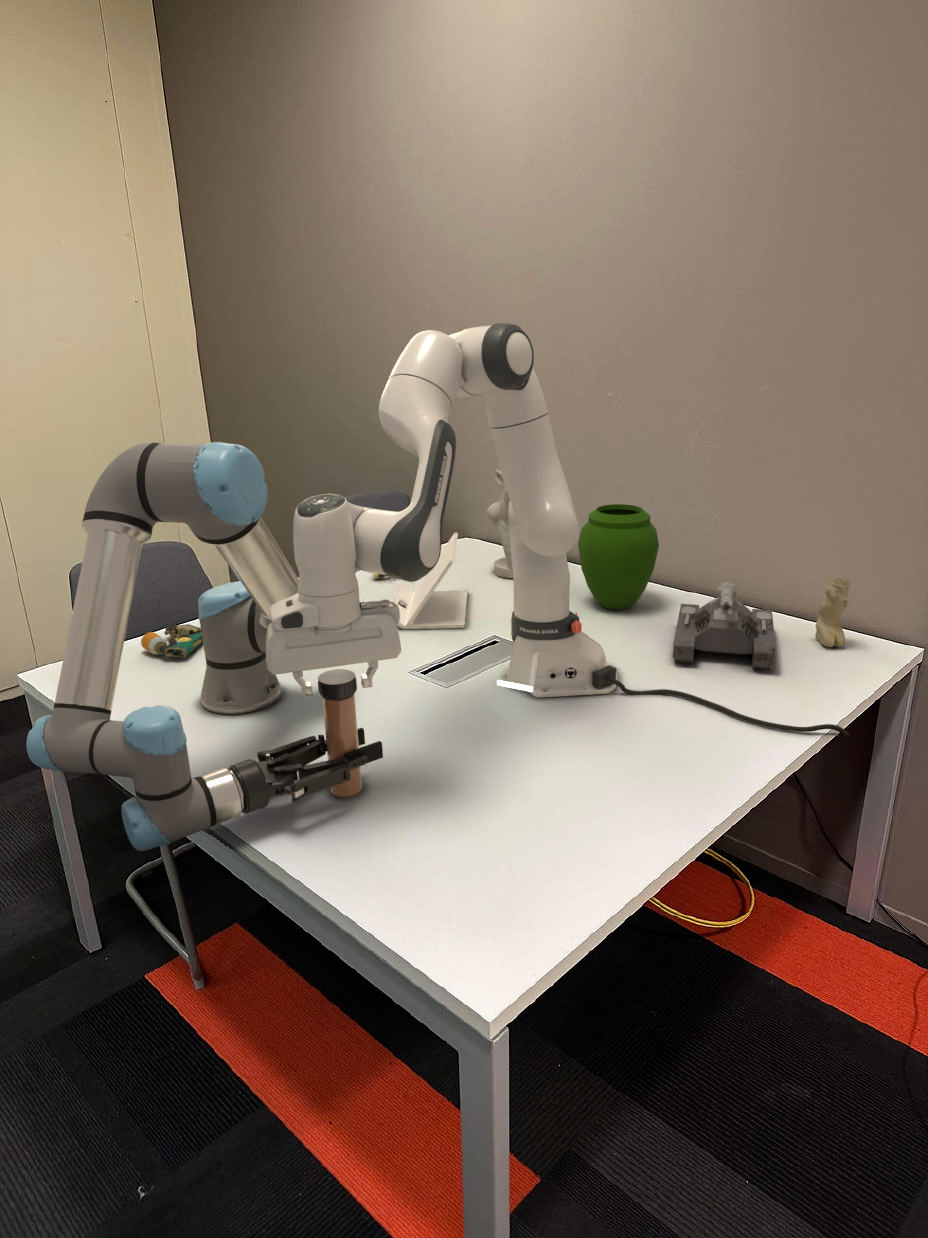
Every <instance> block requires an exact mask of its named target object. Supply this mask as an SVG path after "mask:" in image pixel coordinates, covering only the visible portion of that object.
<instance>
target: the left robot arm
mask: <svg viewBox="0 0 928 1238" xmlns="http://www.w3.org/2000/svg"><path fill="white" fill-rule="evenodd" d="M265 478H266V475H265V471H264V468H263V466H262V464H261V462H260V460H259V458H258V457H257V456H256V455H255V454H254V452H253V451H251V450H250V449H249V448H247V447H246V446H243V445H241V444H236V443H235V444H234V443H227V442H223V441H212V442H144V443H138V444H136V445H134V446H131V447H129V448H127V449H125V450H124V451H122V452H120V453H119V454H118V455H117V456H116V457H115V458H114V459H112V460H111V462H110V463H109V464H108V465H107V467H105V469H104V470H103V472H101V474H100V476H99V477H98V479H97V480H96V482H95V484H94V486H93V488H92V490H91V492H90V494H89V497H88V499H87V501H86V504H85V508H84V512H83V517H82V521H81V527H82V529H83V530H84V532H85V533H86V534H87V536H86V542H85V546H84V553H83V557H82V562H81V567H80V573H79V577H78V582H77V588H76V592H75V598H74V602H73V608H72V612H71V613H72V614H71V618H70V623H69V629H68V633H67V639H66V644H65V649H64V655H63V660H62V664H61V669H60V675H59V679H58V684H57V690H56V695H55V699H54V704H53V708H52V713H51V714H49V715H44V716H41V717H39V718H38V719H36V720H35V722H33V724H32V728H31V729H30V730H29V731H28V732H27V737H26V752H27V755H28V758H29V760H30V761H31V762H32V763H33V765H35V766H37V767H38V768H41V769H45V770H50V771H51V770H52V771H58V772H61V773H65V774H66V773H81V774H93V775H94V774H95V775H103V776H112V777H122V778H131V779H132V782H133V786H134V791H135V793H134V794H135V796H133V797H131V798H129V799H127V800H126V801H124V802H123V803H122V804H121V808H120V810H121V818H122V823H123V826H124V830H125V833H126V835H127V838H128V840H129V842H130V844H131V846H132V848H134V849H135V850H136V851H139V852H145V851H146V852H147V851H149V850H152V849H155V848H159V847H161V846H165V845H167V846H168V845H171V844H172V843H173V842H176V841H179V840H181V839H183V838H186V837H189V836H191V835H193V834H196V833H199V832H201V831H203V830H206V829H210V828H213V827H214V826H217V825H221V824H223V823H225V822H228V821H231V820H234V819H236V818H240V817H241V815H242V814H243V815H249V814H251V813H254V812H256V811H259V810H262V809H265V808H266V807H267V806H268V804H269V802H270V800H271V799H272V798H273V797H274V798H275V797H280V796H284V795H288V796H291V801H292V802H293V803H298V802H300V801H302V800H304V799H305V798H306V797H308V796H310V795H314V794H316V793H319V792H322V791H324V790H327V789H329V788H330V789H331V787H333V786H335V785H338V784H341V783H343V782H346V781H349V780H350V779H351V775H350V770H352V769H355V768H357V767H360V768H361V767H363V766H366V765H367V764H370V763H372V762H375V761H377V760H381V759H384V750H383V742H382V741H381V740H378V741H375V742H372V743H369V744H367V745H366V736H365V729H364V728H363V727H359V728H357V731H358V743H359V748H358V749H355V750H352V751H350V752H347V753H344V757H342V758H337V759H333V760H328V759H327V760H324V761H320V762H319V761H318V762H315V763H313V762H314V761H317V760H318V759H320V758H322V757H323V756H325V755H326V754H327V744H326V737H325V735H324V734H318V735H317V736H315V735H310V736H307V737H305V738H304V737H303V738H302V739H299V740H296V741H293V742H289V743H287V744H284V745H281V746H278V747H275V748H272V749H267V750H261V751H258V752H257V753H256V758H257V761H256V760H254V759H253V758H250V759H246V760H242V761H239V762H237V763H233V764H231V765H229V767H228V768H226V767H221V768H218V769H216V770H213V771H211V772H207V773H204V774H202V775H199V776H196V777H192V773H191V766H190V760H189V759H190V758H189V753H188V747H187V746H188V745H187V742H188V741H187V735H186V732H185V730H184V726H183V722H182V718H181V715H180V713H179V712H178V711H177V709H174V708H173V707H171V706H169V705H154V706H145V707H141V708H138V709H136V710H133V711H131V712H130V713H129V714H128V715H127V716H125V718H124V720H115V719H114V720H112V719H111V715H112V709H113V705H114V698H115V694H116V687H117V682H118V677H119V672H120V666H121V661H122V655H123V650H124V645H125V639H126V634H127V629H128V624H129V619H130V618H129V617H130V613H131V607H132V603H133V597H134V591H135V586H136V580H137V577H138V576H137V575H138V570H139V564H140V560H141V554H142V548H143V545H145V544H146V543H149V541H151V539H152V535H153V529H154V526H155V525H156V524H157V523H177V524H178V523H179V524H185V525H186V526H187V527H188V528H189V529H190V531H191V532H192V533H193V535H194V536H195V537H196V538H197V539H198V540H199V541H200V542H202V543H204V544H205V545H209V546H214V547H215V548H216V550H217V552H219V554H220V555H221V557H222V559H224V561H225V562H226V564H227V565H228V566H229V568H230V569H231V570H232V572H233V573H234V575H235V576H236V578H237V579H238V581H232V582H227V583H223V584H221V585H217V586H215V587H212V588H210V589H208V590H206V591H204V592H203V593H202V594H201V595H200V596H199V598H198V601H197V609H198V617H197V618H198V620H199V625H200V628H201V633H202V639H203V642H202V644H203V645H202V646H203V651H204V657H205V665H206V668H205V672H204V677H203V682H202V686H201V694H200V697H201V705H202V706H203V707H204V709H206V710H207V711H210V712H212V713H215V714H221V715H241V714H247V713H252V712H256V711H260V710H262V709H264V708H267V707H269V706H270V705H273V704H274V703H275V702H276V701H278V699H279V698H280V696H281V694H282V692H281V684H280V681H279V679H278V676H277V675H274V674H272V673H271V672H270V671H269V670H268V669H267V662H266V633H267V628H268V626H269V624H270V623H271V620H270V607H271V605H273V604H274V603H276V602H279V601H281V600H284V599H286V598H288V597H291V596H293V595H295V594H297V593H298V583H299V576H297V574H296V572H295V571H294V569H293V567H292V565H291V564H290V563H289V561H288V559H287V558H286V556H285V554H284V553H283V550H282V549H281V547H280V546H279V543H277V541H276V539H275V537H274V536H273V534H272V533H271V530H270V529H269V528H268V526H267V523H266V522H265V521H264V519H263V514H264V512H265V511H266V507H267V503H268V492H269V491H268V483H267V482H266V481H265Z"/></svg>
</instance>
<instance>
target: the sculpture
mask: <svg viewBox="0 0 928 1238" xmlns="http://www.w3.org/2000/svg"><path fill="white" fill-rule="evenodd" d="M826 581H827V586H826V588H825V590H824V593H825V595H826V596H827V598H826V600H824V601H822V602H821V603H820V604H819V605H818V606H817V609H816V610H817V612H818V614H819V616H818V617H817V619H816V623H815V630H816V631H815V634H814V635H815V639H817V640H819V642H820V643H821V644H822V645H823V646H825V647H827V648H832V647H834V646H835V647H843V646H844V645H845V643H846V642H845V641H846V636H845V632H844V630H843V626H842V624H841V622H840V621H841V617H842V615H843V612H844V610H845V609H846V608H847V606H848V604H849V603H848V602H849V601H847V598H848V597H849V592H850V586H851V585H852V582H850V580H848V579H847V578H845V577H841V576H840V577H835V578H831V577H827V578H826Z"/></svg>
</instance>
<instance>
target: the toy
mask: <svg viewBox="0 0 928 1238" xmlns="http://www.w3.org/2000/svg"><path fill="white" fill-rule="evenodd" d="M716 594H717V597H715V598H714V599H711V600H710V601H708V602H707V603H706V604H704V605H703V606H701V607H700V604H691V603H689V604H688V603H680V607H679V612H678V618H677V623H676V627H675V628H676V629H675V634H674V639H673V649H672V650H673V651H672V658H673V660H674V661H673V662H674V663H683V664H693V662H694V655H695V650H696V651H697V650H698V651H701V652H710V653H723V654H733V655H734V654H735V655H751V668H753V669H767V670H772V668H773V669H774V665H775V662H776V655H777V646H776V638H775V637H776V636H775V628H774V627H775V626H774V617H773V616H774V615H773V610H772V609H763V608H752V610H751V609H749V608H748V607H747V606H746V605H745V604H744V603H742V601H739V600H738V599H737V598H736V597H737V594H738V588H737V586H736V585H735V584H734V583H733V582H732V581H731V582H729V581H724V582H723V583H721V584H720V585H719V586H718V587H717V590H716Z"/></svg>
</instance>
